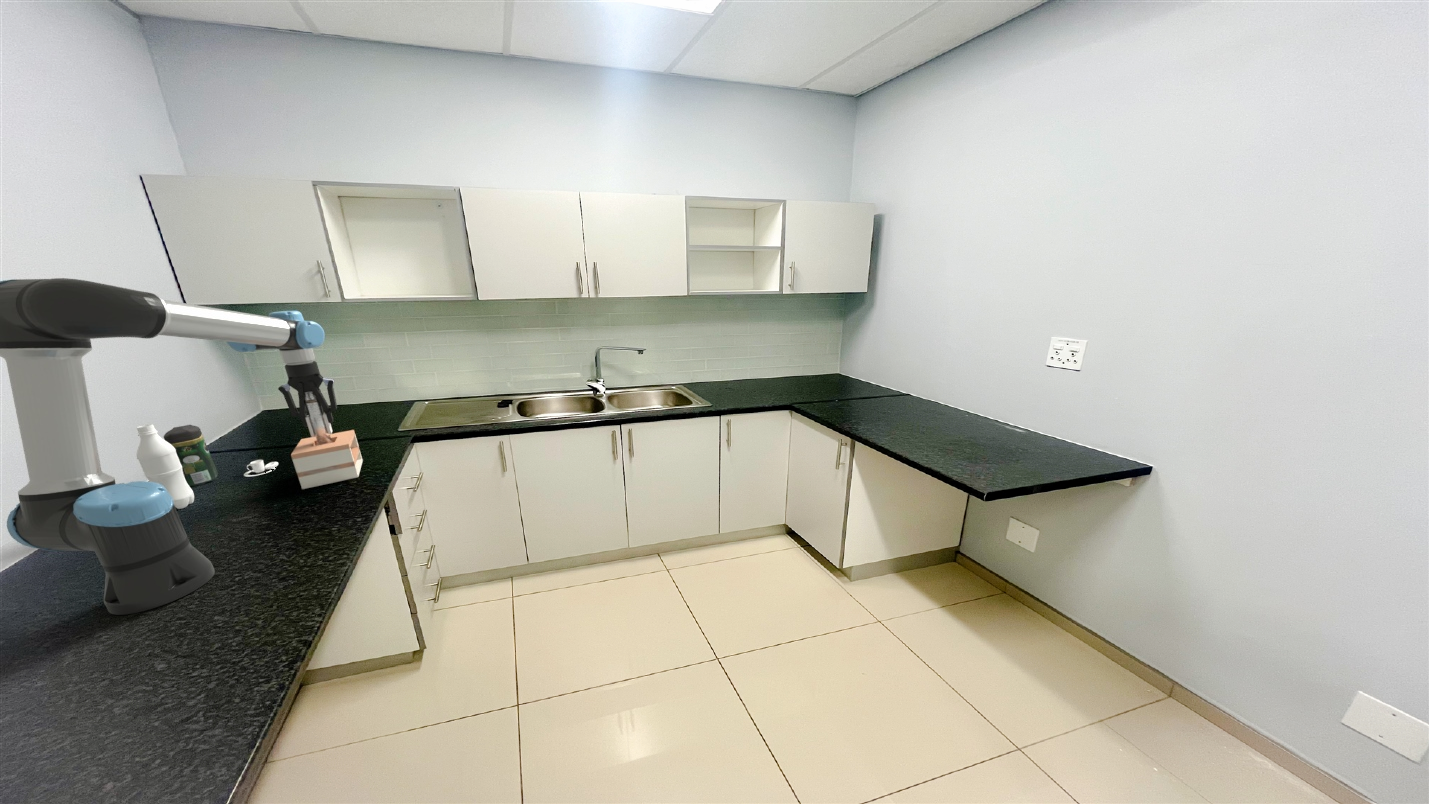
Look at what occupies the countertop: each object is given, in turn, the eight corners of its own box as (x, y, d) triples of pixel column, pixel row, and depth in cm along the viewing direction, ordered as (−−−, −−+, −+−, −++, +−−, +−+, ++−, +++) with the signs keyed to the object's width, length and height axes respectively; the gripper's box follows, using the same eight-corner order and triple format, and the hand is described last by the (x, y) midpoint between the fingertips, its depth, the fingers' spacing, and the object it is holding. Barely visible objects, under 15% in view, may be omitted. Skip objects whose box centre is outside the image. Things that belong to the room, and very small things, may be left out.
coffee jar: (185, 480, 152) (163, 427, 147) (219, 472, 158) (199, 421, 152) (181, 490, 146) (158, 434, 140) (217, 481, 151) (196, 427, 145)
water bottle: (204, 500, 138) (171, 421, 131) (175, 513, 131) (139, 430, 124) (182, 500, 139) (149, 421, 131) (153, 512, 132) (116, 430, 125)
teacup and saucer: (280, 464, 163) (276, 454, 162) (278, 472, 157) (274, 461, 156) (245, 472, 158) (241, 461, 157) (242, 480, 152) (238, 468, 151)
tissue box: (358, 477, 150) (348, 444, 146) (302, 489, 143) (290, 454, 139) (362, 460, 163) (354, 429, 159) (311, 471, 156) (301, 439, 152)
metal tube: (333, 450, 150) (315, 391, 144) (318, 453, 148) (300, 393, 142) (335, 447, 153) (317, 388, 147) (320, 449, 151) (302, 390, 145)
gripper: (336, 356, 149) (355, 425, 156) (267, 364, 141) (291, 436, 148) (332, 360, 143) (352, 431, 150) (260, 368, 135) (285, 443, 141)
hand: (322, 434), depth 149 cm, fingers closed on metal tube, 3 cm apart
